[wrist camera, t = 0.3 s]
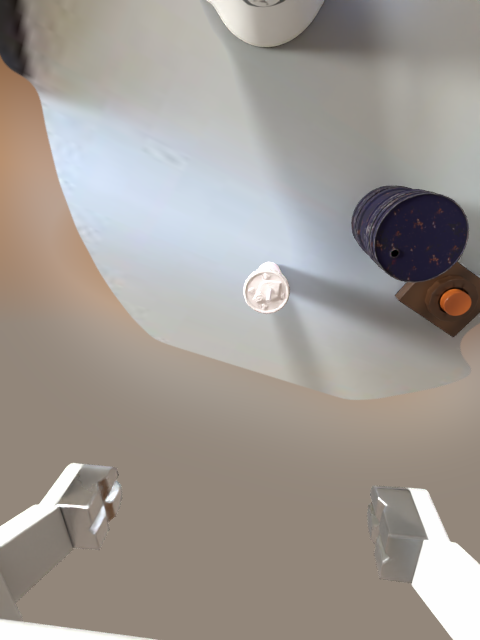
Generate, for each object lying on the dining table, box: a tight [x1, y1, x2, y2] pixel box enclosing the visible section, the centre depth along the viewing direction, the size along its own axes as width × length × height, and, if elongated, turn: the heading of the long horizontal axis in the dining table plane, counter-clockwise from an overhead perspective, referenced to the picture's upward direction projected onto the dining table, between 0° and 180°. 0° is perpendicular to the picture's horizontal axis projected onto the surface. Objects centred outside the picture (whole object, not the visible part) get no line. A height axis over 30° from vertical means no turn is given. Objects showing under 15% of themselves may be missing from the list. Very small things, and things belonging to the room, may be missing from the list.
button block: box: [395, 262, 480, 337], centre depth 53 cm, size 11×9×4 cm
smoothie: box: [244, 262, 290, 314], centre depth 51 cm, size 6×6×14 cm
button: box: [440, 289, 471, 316], centre depth 51 cm, size 4×4×2 cm
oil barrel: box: [351, 186, 469, 283], centre depth 45 cm, size 10×10×15 cm
